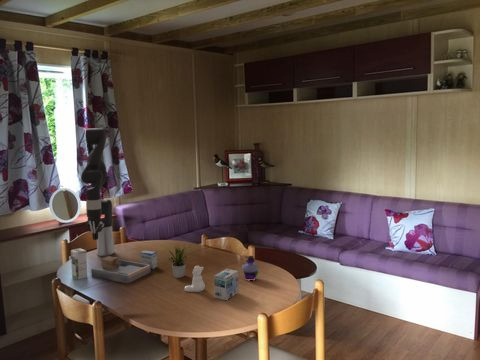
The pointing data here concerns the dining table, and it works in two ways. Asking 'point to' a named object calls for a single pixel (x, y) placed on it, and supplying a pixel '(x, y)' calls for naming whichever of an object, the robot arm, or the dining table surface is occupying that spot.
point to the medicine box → (149, 258)
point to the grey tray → (123, 271)
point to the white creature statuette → (196, 281)
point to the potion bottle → (250, 268)
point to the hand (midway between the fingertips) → (95, 239)
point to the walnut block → (110, 263)
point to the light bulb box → (226, 284)
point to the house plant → (178, 262)
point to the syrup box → (79, 263)
